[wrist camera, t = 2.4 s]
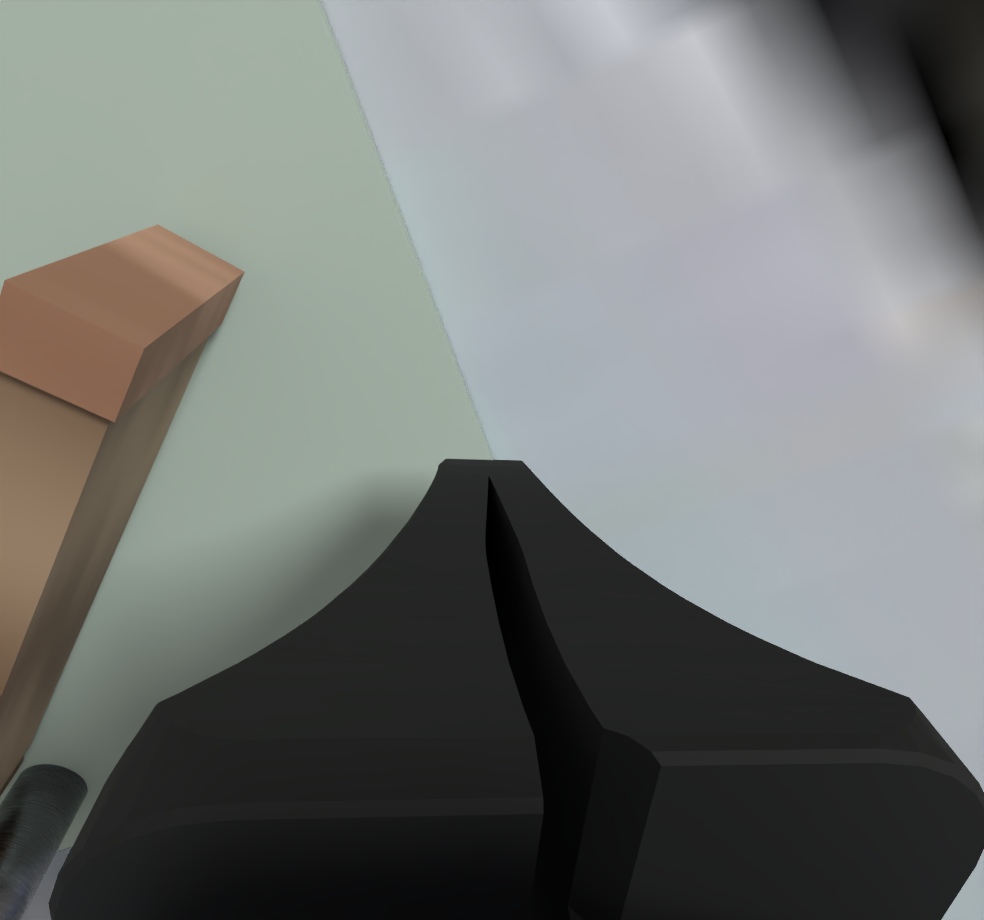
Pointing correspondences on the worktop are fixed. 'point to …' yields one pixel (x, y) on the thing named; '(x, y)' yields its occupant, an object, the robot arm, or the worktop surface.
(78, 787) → the dark gray metal cylinder
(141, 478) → the wooden block
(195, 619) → the gate mat
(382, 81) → the worktop surface
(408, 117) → the worktop surface
